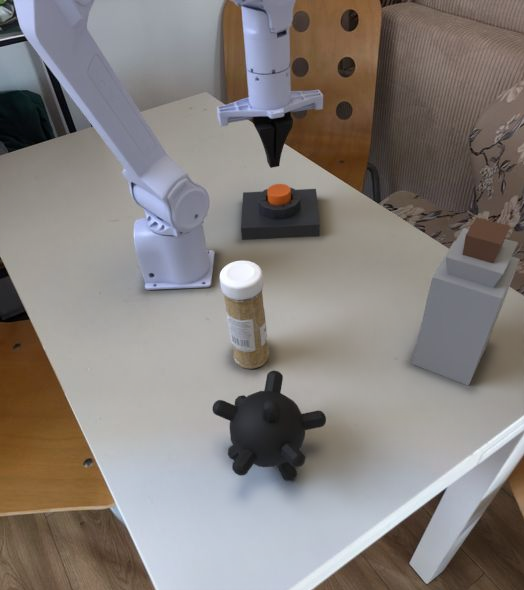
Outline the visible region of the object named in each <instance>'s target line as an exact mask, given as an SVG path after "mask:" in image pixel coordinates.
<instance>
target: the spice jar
mask: <svg viewBox="0 0 524 590" xmlns="http://www.w3.org/2000/svg"><path fill="white" fill-rule="evenodd" d="M219 284H220V289H221V292H222V294H223V298H224V304H225V312H226V313H225V314H226V319H227V326H228V331H229V337H230V342H231V345H232V351H233V355H232V357H233V361H234V363H235V364H236V365H238V366H239V367H241V368H244V369H248V370H253V369H256V368H260V367H262V366H264V365H265V364H266V363H267V361H268V360H269V358H270V349H269V346H268V332H267V322H266V312H265V311H266V310H265V306H264V298H263V297H264V296H263V287H264V275H263V270H262V269H261V267H260V266H259V265H258V264H257V263H255V262H253V261H250V260H237V261H236V260H235V261H232V262H230V263H228V264H226V265H225V266H224V267H222V270H221V271H220V273H219Z"/></svg>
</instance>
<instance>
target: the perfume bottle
mask: <svg viewBox="0 0 524 590" xmlns="http://www.w3.org/2000/svg"><path fill="white" fill-rule="evenodd" d="M511 227H512V226H511V225H508V224H504V223H501V222H496V221H492V220H489V219H485V218H480V217H478V216H476V217H475V219H474V220H473V222H472V224H471V226H470V227H469V228H465V227H463V228H462V230H461V231H460V233H459V235H458V236H457V238H456V239H455V240H453V242H452V244H451V246H450V247H449V249H448V251H447V252H446V254H445V256H444V257H443V259H442V260H441V262H440V264H439V265H438V267H437V268H436V271H435V272H434V274H433V275H432V277H431V280H430V286H429V289H428V294H427V298H426V302H425V307H424V311H423V315H422V320H421V323H420V328H419V332H418V337H417V341H416V345H415V350H414V354H413V357H412V358H413V359H412V363H411V364H412V365H413V366H417V367H419V368H422V369H425V370H426V371H429V372H432V373H434V374H437V375H439V376H442V377H445V378H447V379H451V380H452V381H455V382H458V383H460V384H463V385H466V386H470V384H471V382H472V379H473V377H474V375H475V373H476V371H477V368H478V366H479V364H480V362H481V360H482V357H483V355H484V353H485V352H486V349H487V346H488V344H489V341H490V338H491V336H492V334H493V331H494V328H495V325H496V323H497V321H498V318H499V316H500V313H501V310H502V307H503V305H504V302H505V300H506V297H507V295H508V292H509V289H510V286H511V284H512V282H513V279H514V276H515V274H516V271H517V268H518V266H519V263H520V261H521V258H519V257H516V256H513V255H514V252H515V250H516V248H517V246H518V244H519V242H518V241H514V240H511V239H507V235H508V234H509V231H510V229H511Z"/></svg>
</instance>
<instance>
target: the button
mask: <svg viewBox="0 0 524 590" xmlns="http://www.w3.org/2000/svg"><path fill="white" fill-rule="evenodd" d="M290 188H291V187H290V186H289V185H287V184H285V183H275V184H272V185H270V186H269V187H268V188H267V189H268V190H267V195H268V202H269V204H273V205H284V204H287V203H289V202H290V201H291V189H290Z"/></svg>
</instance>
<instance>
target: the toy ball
mask: <svg viewBox="0 0 524 590" xmlns="http://www.w3.org/2000/svg"><path fill="white" fill-rule="evenodd" d="M283 380H284V376H283V374H282V373H281V372H280V371H279V370H271V371H269V372H267V375H266V380H265V385H264V390H259V391H256V392H254V393H251V394H249V395H247V396H246V395H245V394H243V395H238V396H237V397H236V398H235V399H234V404H232V403H230V402H228V401H225V400H223V399H218V400H216V401H215V402H214V403H213V405H212V413H213V414H214V415H216V416H218V417H220V418H223V419H225V420H227V421H229V434H230V435H229V438H230V441H231V445H230V446H229V447H228V449H227V455H228V457H229V459H230V460H232V461H233V462H232V467H231V469H232V471H233V472H234V474H236V475H237V476H246V475H247V474H249V473H248V472H249V471H250V470H251V469H252V467H253V466H254V465H255V466H257V467H259V468H274V467H277V469H278V472H279V474H280V476H281V477H282V479H283V481H285V482H292V481H294V480H295V479H296V478H297V476H298V473H297V468H300V467H302V466H303V465H304V464H305V462H306V455H305V453H304V452H303V451H302V450H301V448H302V446H303V443H304V440H305V437H306V431H308V430H313V429H317V428H318V429H319V428H322V427H324V426H325V425H326V422H327V417H326V414H325V412H323V411H322V410H313V411H309V412H308V411H307V412H305V413H302V411H301V409H300V408H299V406H298V404H297V403H296V402H295V401H294V400H293V399H292V398H290V397H288V396H287V395H285V394H284V393H281V392H282V386H283Z"/></svg>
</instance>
